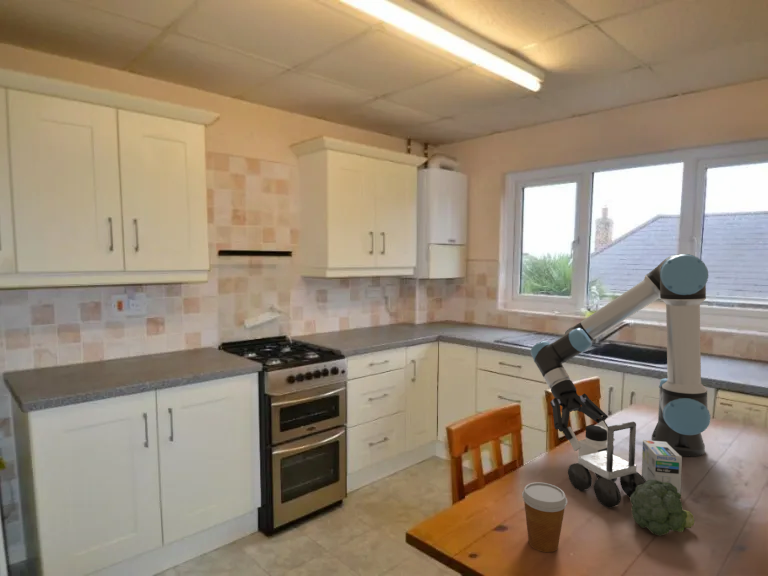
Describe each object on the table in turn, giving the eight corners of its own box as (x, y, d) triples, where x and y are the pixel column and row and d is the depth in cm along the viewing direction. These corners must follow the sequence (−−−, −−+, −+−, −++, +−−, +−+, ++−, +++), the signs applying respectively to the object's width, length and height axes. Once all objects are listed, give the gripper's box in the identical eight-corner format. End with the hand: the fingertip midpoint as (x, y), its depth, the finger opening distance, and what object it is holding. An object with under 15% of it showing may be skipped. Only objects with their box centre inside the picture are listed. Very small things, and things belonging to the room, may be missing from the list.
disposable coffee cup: (514, 531, 107) (515, 482, 106) (554, 529, 108) (555, 480, 107) (531, 558, 97) (532, 504, 97) (574, 556, 98) (575, 502, 97)
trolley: (596, 476, 134) (599, 406, 132) (647, 503, 119) (650, 425, 118) (567, 483, 129) (569, 412, 128) (615, 512, 115) (618, 432, 113)
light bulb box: (681, 495, 123) (683, 456, 122) (653, 493, 124) (655, 454, 124) (665, 476, 133) (667, 440, 133) (640, 474, 135) (641, 439, 134)
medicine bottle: (597, 472, 136) (599, 433, 135) (577, 462, 142) (578, 425, 142) (613, 467, 139) (614, 428, 138) (593, 458, 146) (594, 421, 145)
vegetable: (721, 540, 100) (667, 516, 98) (672, 555, 108) (622, 534, 106) (701, 486, 109) (651, 463, 107) (657, 504, 118) (611, 484, 115)
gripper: (582, 386, 160) (617, 444, 148) (524, 394, 151) (556, 457, 138) (595, 374, 155) (632, 434, 142) (536, 382, 145) (570, 446, 133)
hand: (595, 445), depth 140 cm, fingers open, 13 cm apart
